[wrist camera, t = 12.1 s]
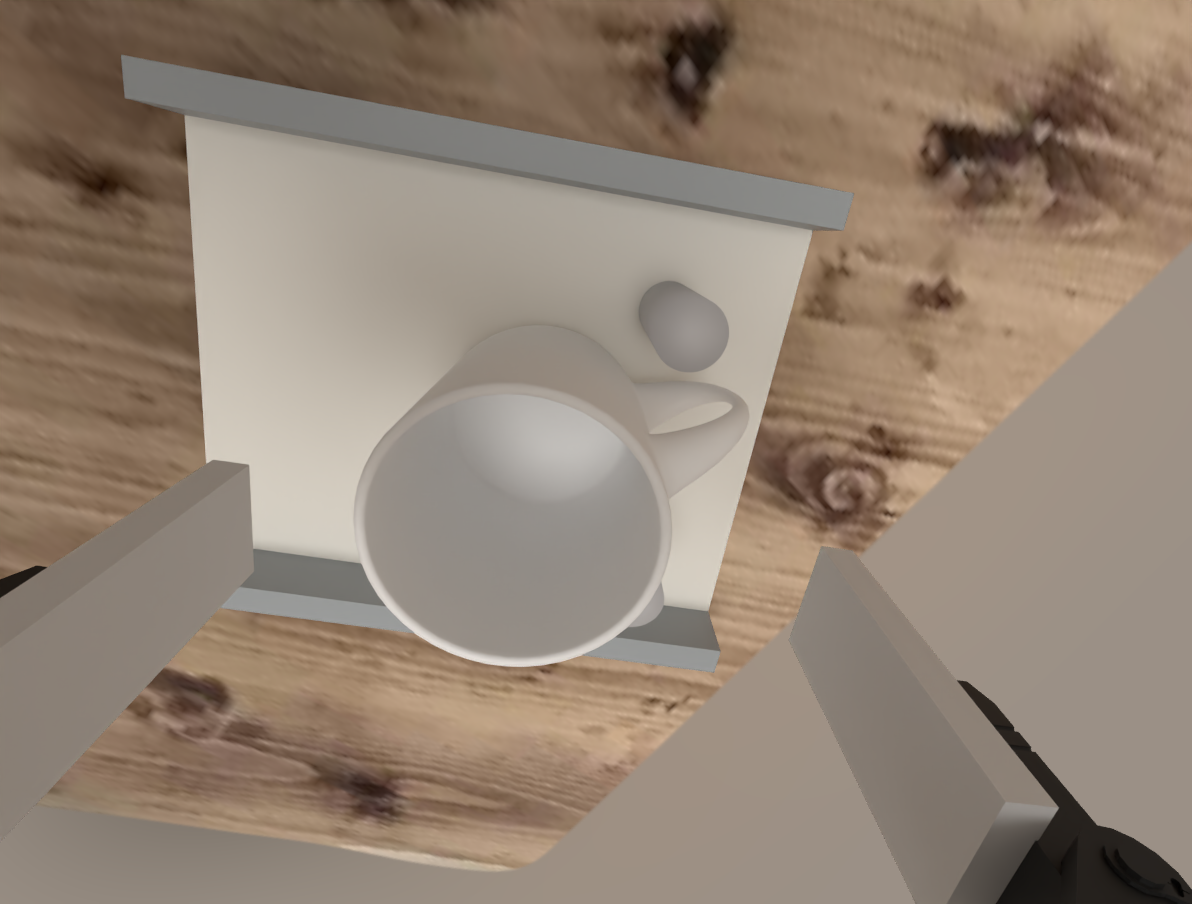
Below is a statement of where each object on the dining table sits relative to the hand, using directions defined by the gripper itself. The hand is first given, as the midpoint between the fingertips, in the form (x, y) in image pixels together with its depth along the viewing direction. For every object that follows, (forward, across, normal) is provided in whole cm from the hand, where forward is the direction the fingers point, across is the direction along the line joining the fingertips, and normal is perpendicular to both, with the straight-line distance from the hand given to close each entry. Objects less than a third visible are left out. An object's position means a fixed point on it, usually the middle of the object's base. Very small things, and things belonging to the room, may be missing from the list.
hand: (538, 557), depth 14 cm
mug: (+13, +1, 0) cm, 13 cm away
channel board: (+14, -3, -1) cm, 14 cm away
